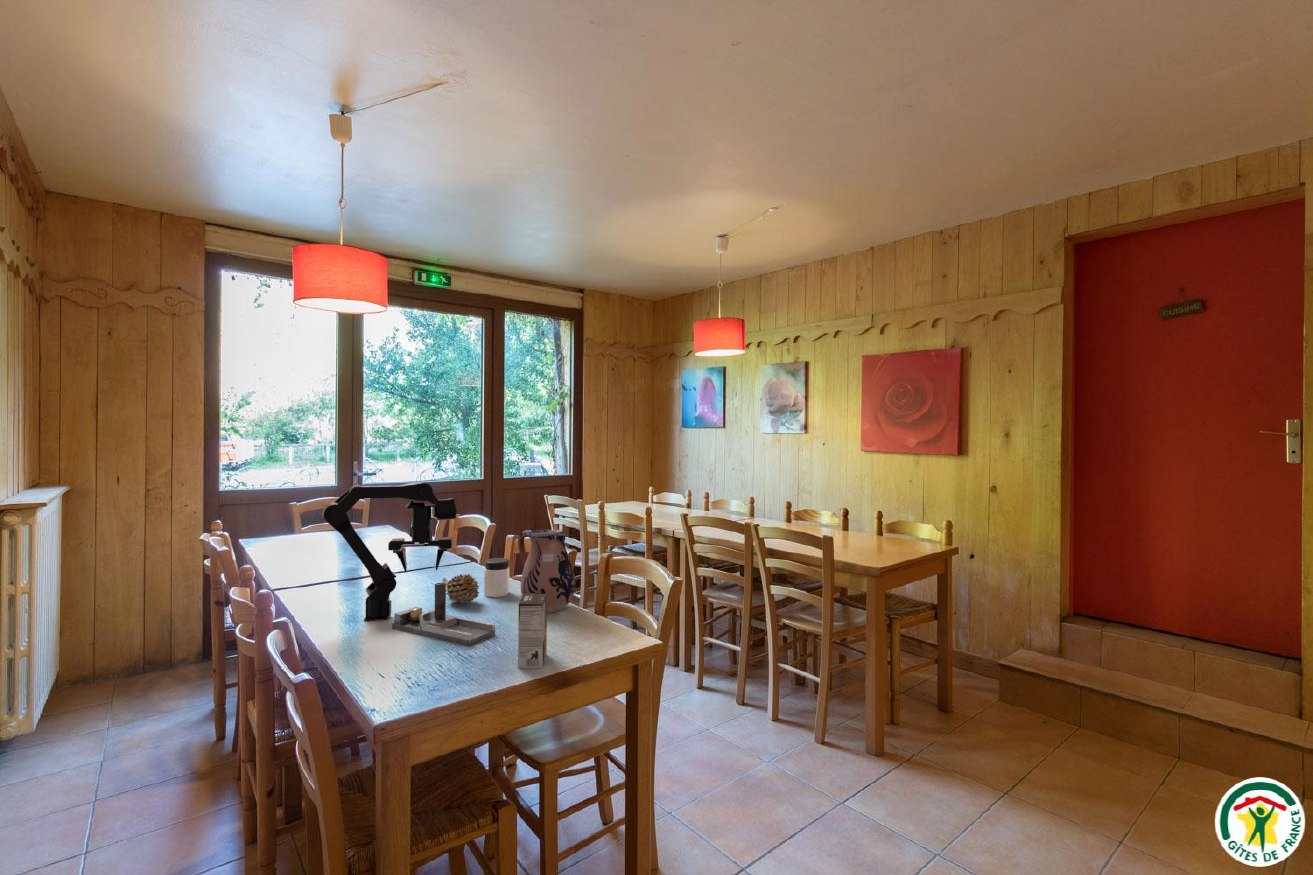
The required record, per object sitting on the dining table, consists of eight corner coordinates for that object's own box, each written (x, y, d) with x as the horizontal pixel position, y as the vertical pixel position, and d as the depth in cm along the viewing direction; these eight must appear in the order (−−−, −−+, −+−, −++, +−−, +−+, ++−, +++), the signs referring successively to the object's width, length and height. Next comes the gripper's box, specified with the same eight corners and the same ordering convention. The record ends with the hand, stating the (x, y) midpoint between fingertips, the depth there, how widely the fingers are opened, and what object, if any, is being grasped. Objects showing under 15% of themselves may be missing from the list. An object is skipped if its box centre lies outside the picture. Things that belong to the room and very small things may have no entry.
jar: (488, 598, 209) (488, 563, 209) (480, 593, 216) (480, 559, 215) (513, 595, 214) (513, 561, 214) (505, 589, 221) (505, 556, 220)
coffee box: (521, 654, 158) (522, 592, 158) (547, 654, 159) (547, 592, 158) (516, 668, 149) (517, 603, 149) (543, 668, 150) (544, 602, 149)
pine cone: (487, 604, 202) (487, 574, 202) (461, 610, 195) (461, 579, 195) (452, 592, 217) (452, 564, 217) (426, 597, 209) (426, 568, 209)
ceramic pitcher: (558, 620, 187) (559, 538, 187) (499, 612, 194) (500, 533, 194) (584, 604, 203) (585, 529, 203) (529, 597, 211) (530, 525, 210)
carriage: (419, 626, 174) (420, 584, 174) (438, 619, 180) (438, 579, 180) (438, 630, 171) (438, 588, 171) (456, 623, 177) (457, 582, 177)
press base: (391, 628, 177) (391, 610, 177) (418, 618, 186) (418, 602, 186) (469, 646, 164) (469, 627, 164) (495, 634, 173) (495, 617, 173)
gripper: (454, 517, 203) (454, 563, 204) (394, 518, 199) (394, 566, 199) (451, 522, 193) (451, 571, 193) (388, 523, 188) (387, 574, 188)
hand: (421, 570), depth 194 cm, fingers open, 9 cm apart
